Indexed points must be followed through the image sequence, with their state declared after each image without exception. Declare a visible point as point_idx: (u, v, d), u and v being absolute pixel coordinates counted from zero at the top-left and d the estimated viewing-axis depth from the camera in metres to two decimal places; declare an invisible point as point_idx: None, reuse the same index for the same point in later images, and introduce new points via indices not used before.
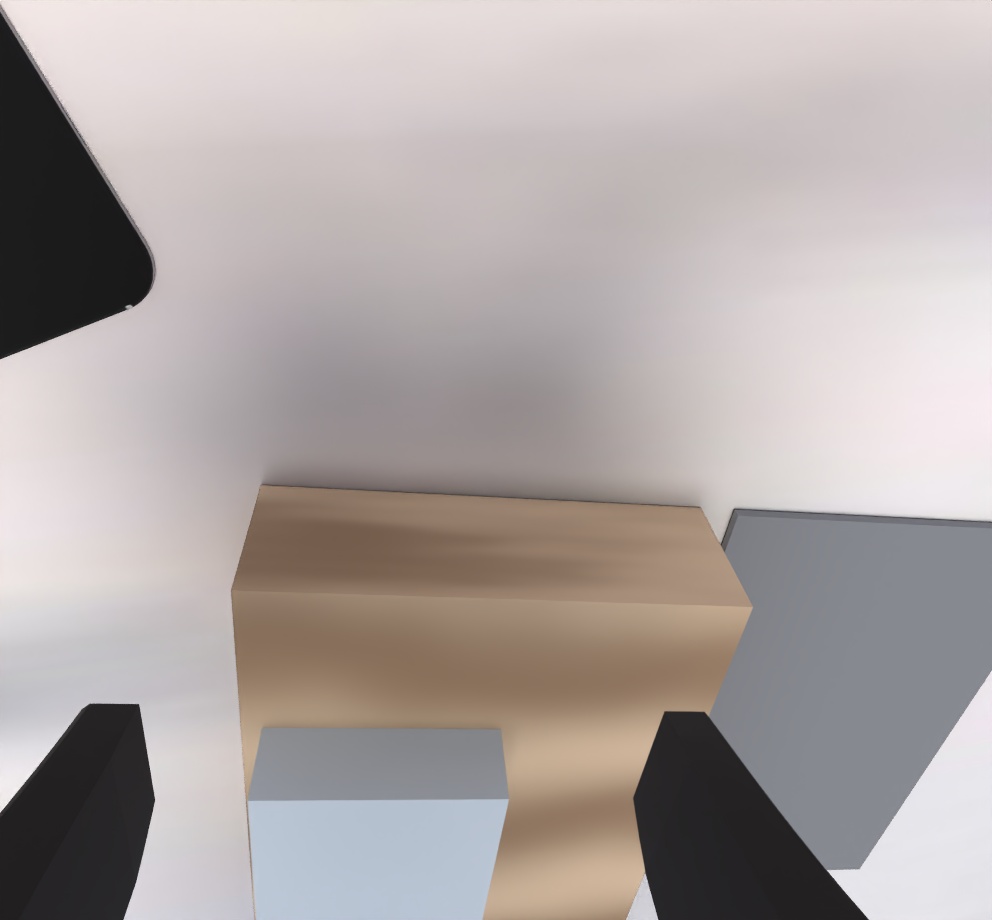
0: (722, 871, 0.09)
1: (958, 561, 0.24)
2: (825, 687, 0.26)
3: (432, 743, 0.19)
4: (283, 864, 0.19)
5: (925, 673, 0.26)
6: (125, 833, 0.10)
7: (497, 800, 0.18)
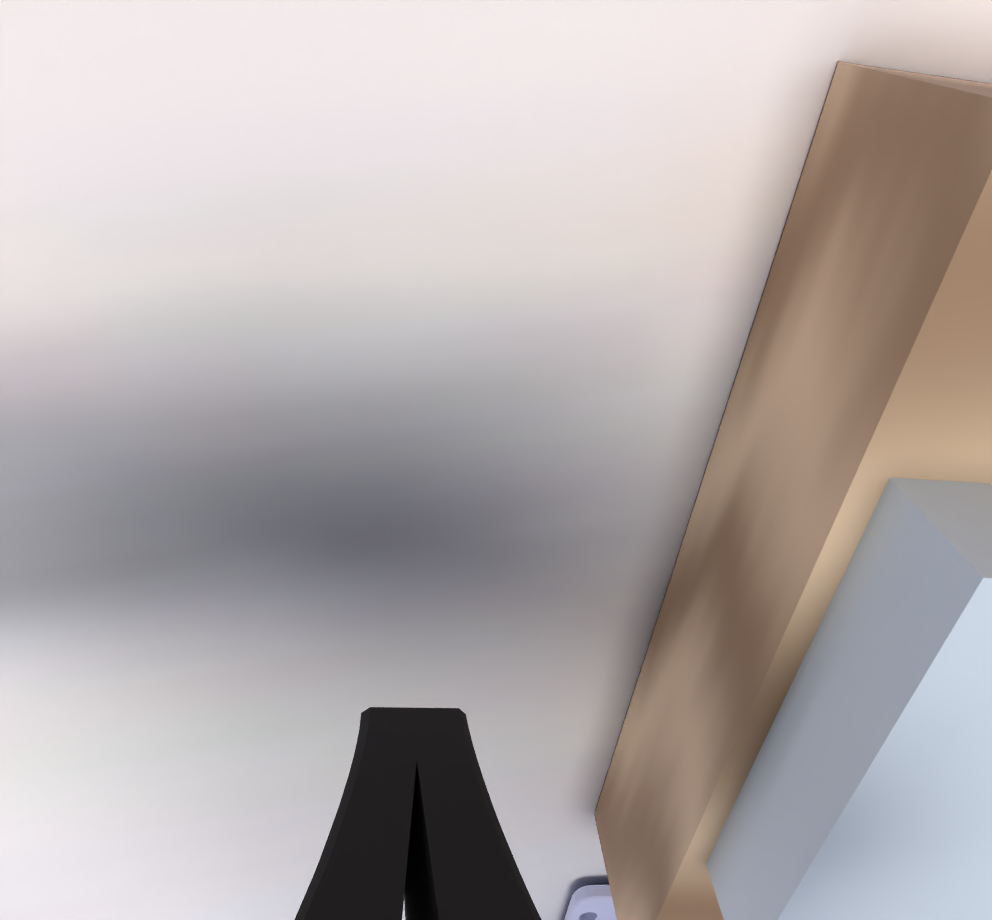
0: (424, 877, 0.09)
1: None
2: None
3: None
4: (943, 731, 0.10)
5: None
6: None
7: None
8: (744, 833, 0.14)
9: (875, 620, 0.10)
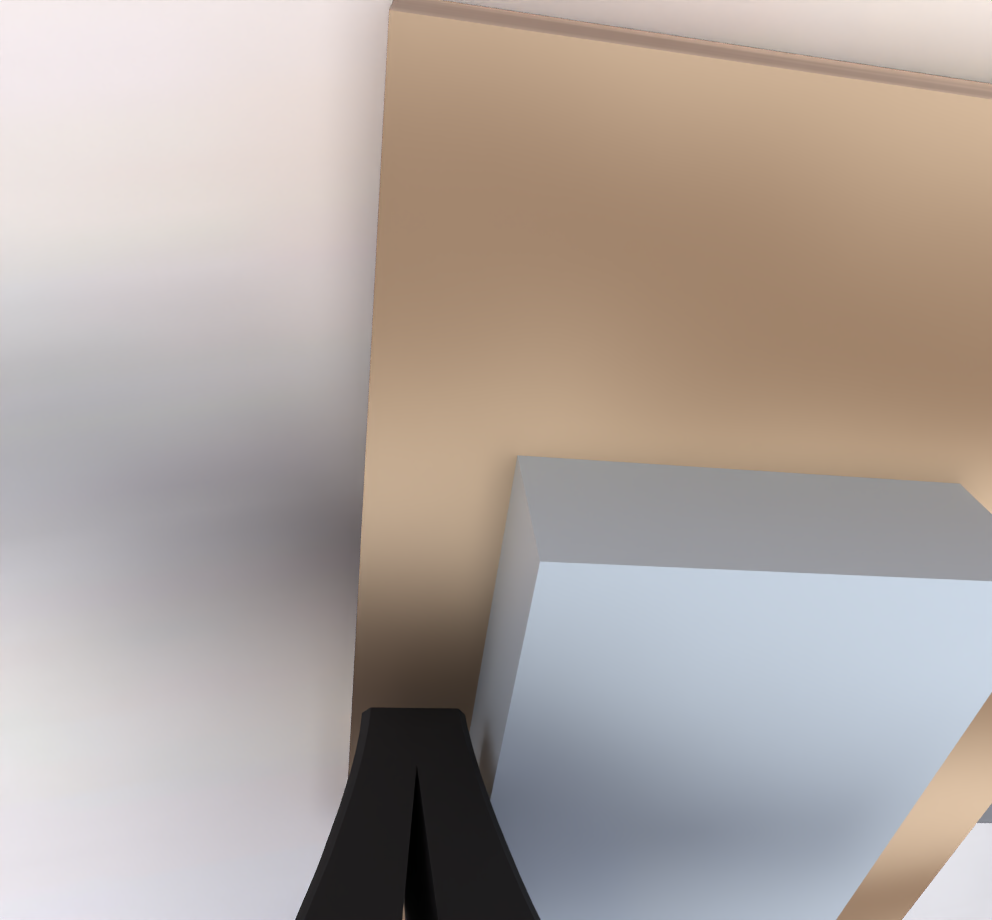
0: (423, 877, 0.09)
1: None
2: None
3: (852, 495, 0.10)
4: (566, 730, 0.09)
5: None
6: None
7: None
8: None
9: (505, 610, 0.10)
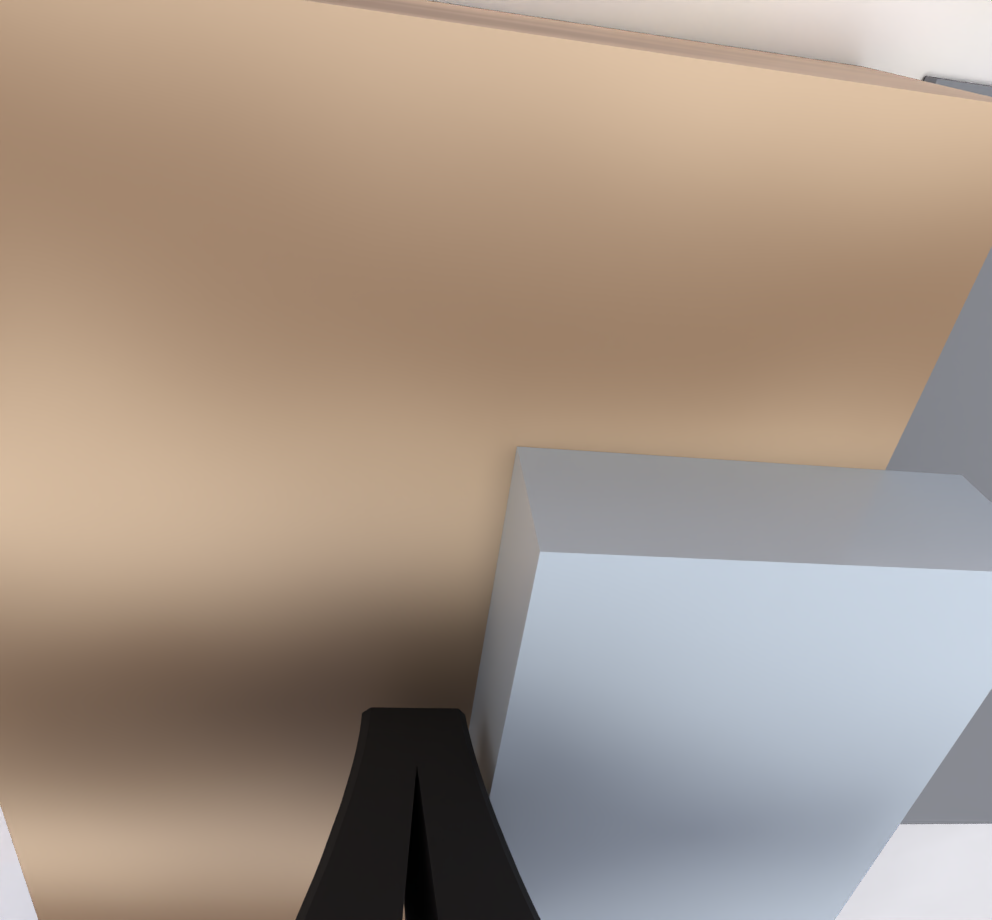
0: (423, 877, 0.09)
1: None
2: None
3: (854, 486, 0.10)
4: (566, 722, 0.09)
5: None
6: None
7: None
8: None
9: (505, 602, 0.10)
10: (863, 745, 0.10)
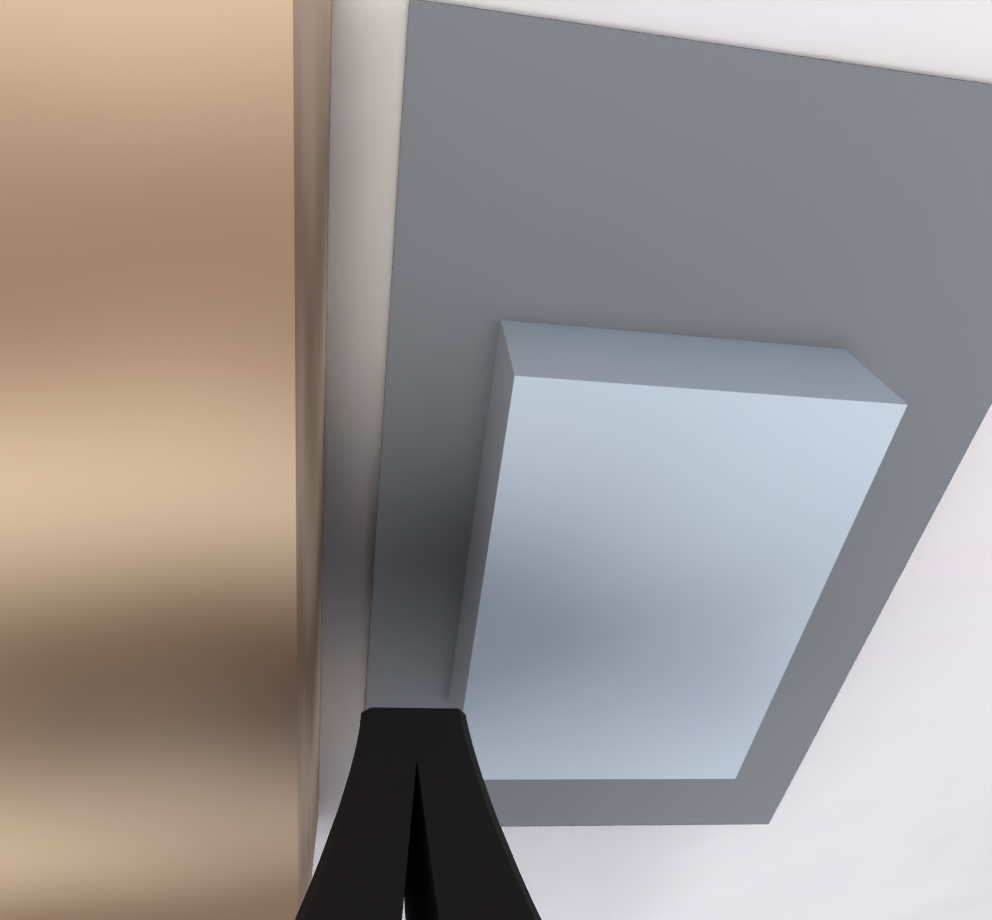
0: (424, 877, 0.09)
1: (898, 170, 0.12)
2: None
3: (630, 371, 0.11)
4: None
5: None
6: None
7: (517, 322, 0.13)
8: None
9: None
10: None
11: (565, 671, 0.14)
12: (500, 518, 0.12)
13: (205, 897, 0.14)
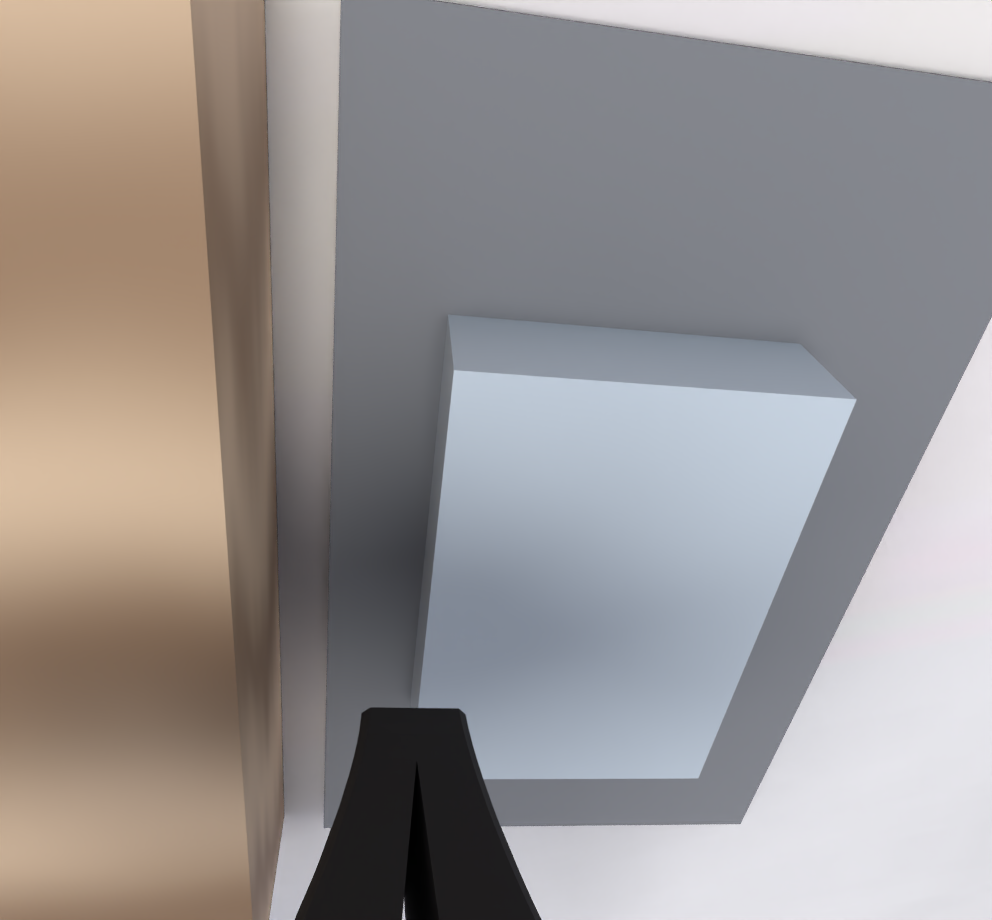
0: (424, 877, 0.09)
1: (847, 162, 0.12)
2: None
3: (574, 365, 0.11)
4: None
5: None
6: None
7: (465, 317, 0.12)
8: None
9: None
10: None
11: (519, 670, 0.14)
12: (446, 515, 0.12)
13: (157, 898, 0.14)
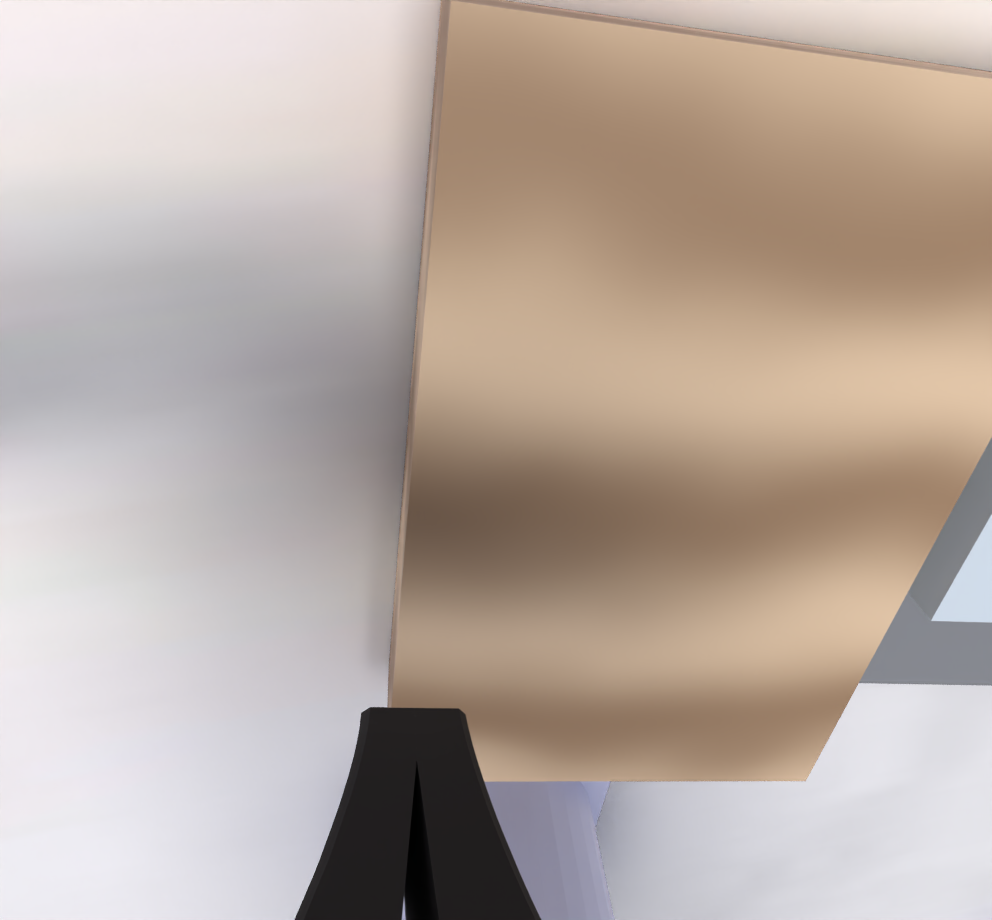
0: (424, 877, 0.09)
1: None
2: None
3: None
4: None
5: None
6: None
7: None
8: None
9: None
10: None
11: None
12: None
13: (796, 690, 0.20)
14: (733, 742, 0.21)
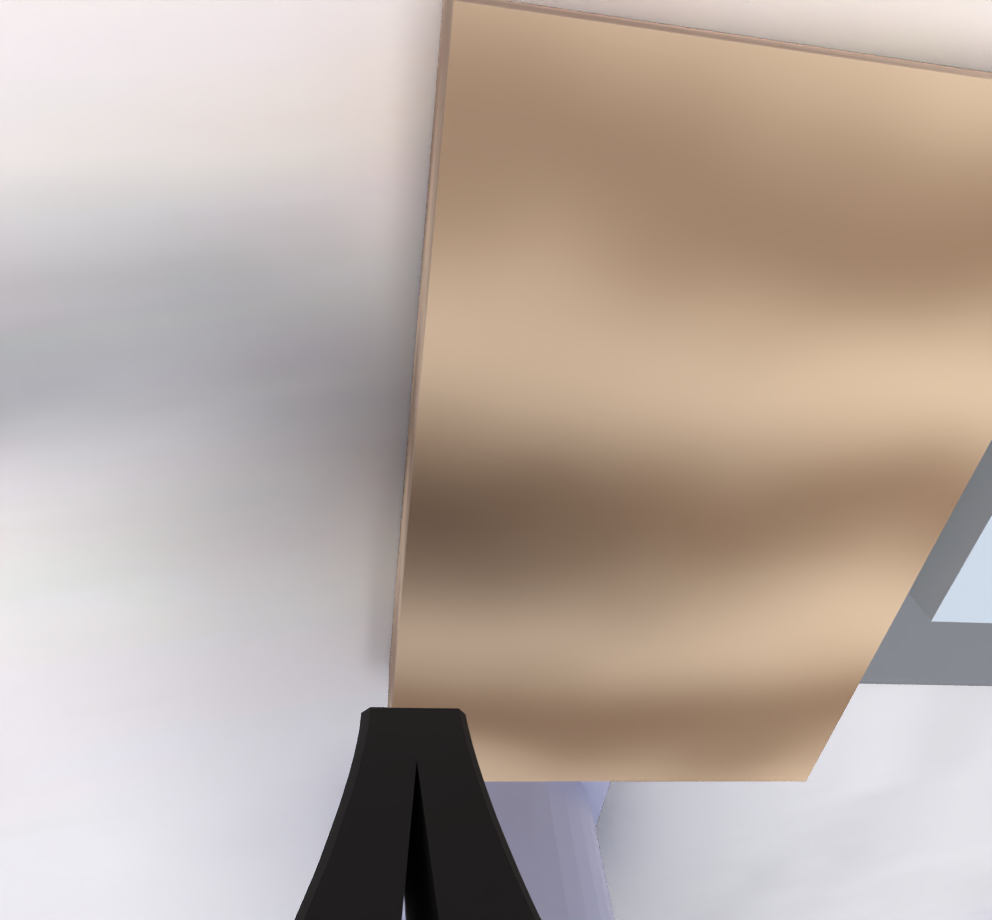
0: (424, 877, 0.09)
1: None
2: None
3: None
4: None
5: None
6: None
7: None
8: None
9: None
10: None
11: None
12: None
13: (797, 690, 0.20)
14: (733, 742, 0.21)
